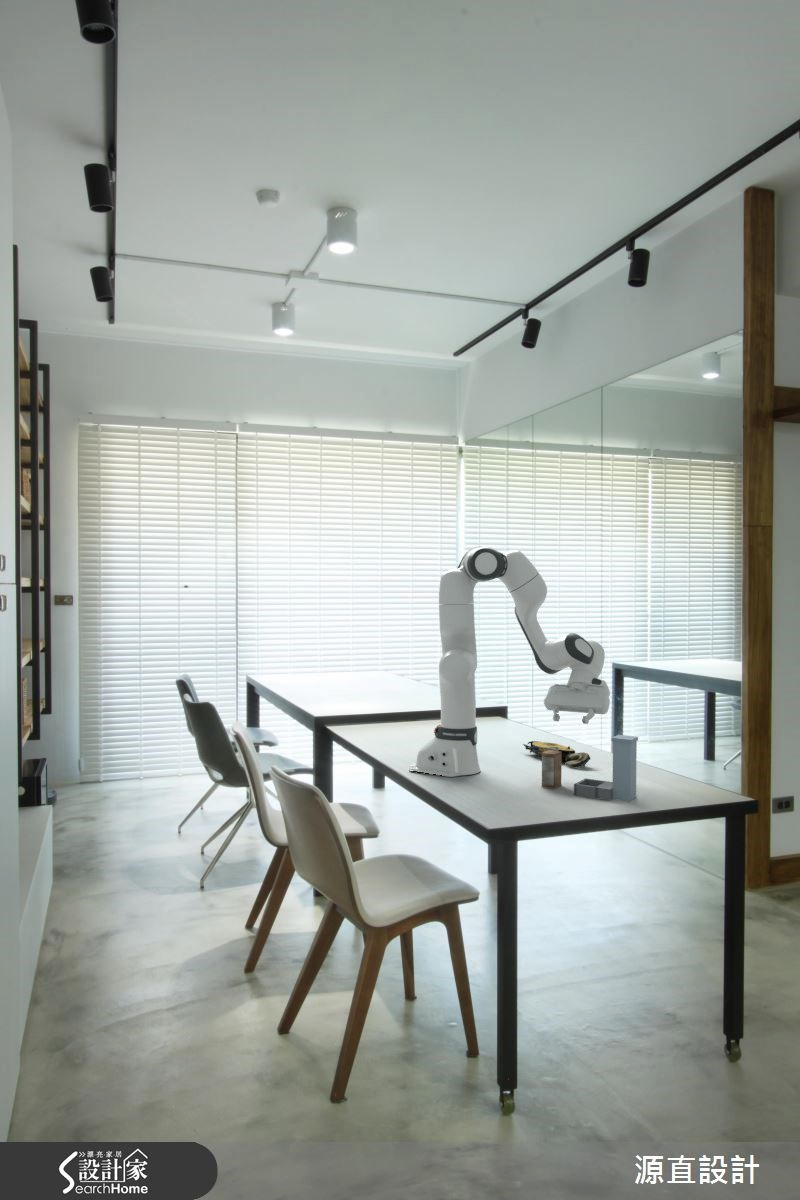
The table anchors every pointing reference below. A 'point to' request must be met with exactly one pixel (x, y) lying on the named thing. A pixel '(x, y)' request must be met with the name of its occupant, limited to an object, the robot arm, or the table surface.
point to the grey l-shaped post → (615, 774)
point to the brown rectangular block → (551, 769)
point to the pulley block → (567, 752)
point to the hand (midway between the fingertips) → (570, 721)
